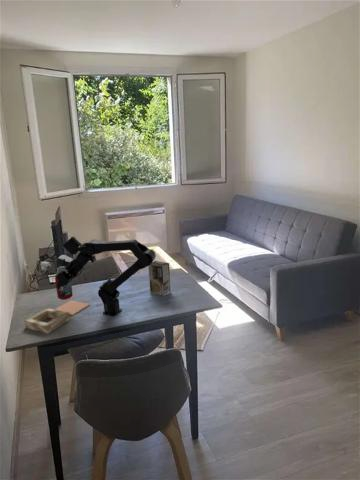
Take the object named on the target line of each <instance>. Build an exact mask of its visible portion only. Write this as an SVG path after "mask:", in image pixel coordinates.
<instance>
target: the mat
mask: <svg viewBox="0 0 360 480" xmlns="http://www.w3.org/2000/svg"><path fill="white" fill-rule="evenodd" d="M89 306H91V305H90V303H86V302H82V301H76V300H68V301H67V302H66V303H63V304H61V305H60V306H58V307H57V308H55V309H54V310H59V311H63V312H68V313H69V316H71V317H73V316H75V315H77V314H78V313H80V312H82V311H83V310H84V309H87V308H88V307H89Z"/></svg>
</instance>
